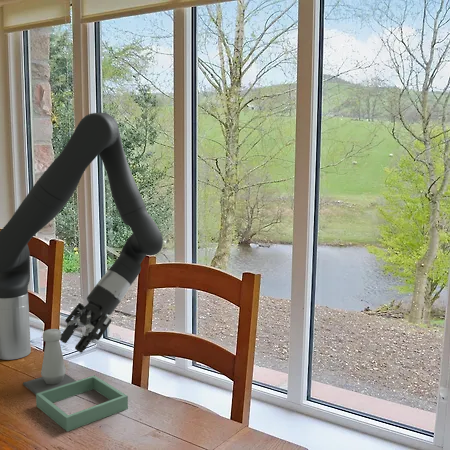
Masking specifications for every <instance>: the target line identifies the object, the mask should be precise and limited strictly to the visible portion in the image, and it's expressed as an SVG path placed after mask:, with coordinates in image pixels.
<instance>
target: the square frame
mask: <svg viewBox="0 0 450 450" xmlns="http://www.w3.org/2000/svg"><path fill="white" fill-rule="evenodd" d="M92 390H94V391H96V392H97V393H99V394H100V395H101V396H103V397H105V398H106V399H108V400H106V401H105V402H101V403H99V404H96V405H93V406H90V407H88V408H85V409H82V410H79V411H77V412H74V413H70V414H68V413H66V412H65V411H64V410H62V409H61V408H60V407H58V406H57V405H56V404H55V403H56V402H60V401H62V400H66V399H68V398H71V397H74V396H77V395H80V394H83V393H86V392H90V391H92ZM35 399H36V401H35V402H36V403H35V404H36V407H37V408H38V409H39V410H41V411H42V412H43V413H44V414H45V415H46V416H48V418H50V419H51V420H52V421H54V423H56V424H57V425H59V427H61V428H62V429H63V430H64V431H66V432H69V431H73V430H76V429H77V428H80V427H84V426H87V425H88V424H92V423H94V422H96V421H99V420H102V419H104V418H107V417H109V416H112V415H115V414H118V413H121V412H123V411H126V410H128V409H129V397H128V395H127V394H126V393H124V392H122V391H121V390H119V389H117V388H116V387H114V386H112V385H111V384H109V383H108V382H106V381H104V380H103V379H101V378H100V377H98V376H96V375H91V376H89V377H85V378H82V379H79V380H76V381H75V382H72V383H69V384H65V385H62V386H59V387H56V388H53V389H50V390H46V391H43V392H40V393H37V394H36V395H35Z"/></svg>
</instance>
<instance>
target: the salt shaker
mask: <svg viewBox="0 0 450 450" xmlns="http://www.w3.org/2000/svg"><path fill="white" fill-rule="evenodd" d="M61 334H62V331H61V330H60V329H58V328H49V329H46V330H44V331H43V333H42V340H43V341H44V342H45V346H44V352H43V358H42V359H43V360H42V365H41V371H40V375H41V376H40V377H43V379H44V380H45V382H46V384H50V385H54V384H58V383H61V382H62V380H63V378H64V375H65V374H67V373H66V372H67V369H66V364H65V360H64V355H63V351H62V348H61V347H62V346H61V343H60V341H61V340H60V339H61Z"/></svg>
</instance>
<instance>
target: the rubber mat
mask: <svg viewBox="0 0 450 450" xmlns="http://www.w3.org/2000/svg"><path fill="white" fill-rule="evenodd" d="M75 381H77V380H75V379H74V378H72V377H71V376H70V375H68V374H67V373H65V375H64V378H63V380H62V382H61V383H58V384H54V385H50V384H46V382H45V380H44V379H43V377H42V376H40V377H37V378H34V379H31V380H30V379H29V380H27V381H24V382H23V383H22V384H23V386H24V387H25V388H27V389H28V390H29V391H30V392H32V393H33V394H34V395H35V396H36V394H37V393H40V392H43V391H46V390H50V389H53V388H56V387H59V386H62V385H65V384H69V383H72V382H75Z"/></svg>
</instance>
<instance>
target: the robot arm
mask: <svg viewBox="0 0 450 450" xmlns="http://www.w3.org/2000/svg"><path fill="white" fill-rule="evenodd" d="M98 156H99V157H100V159H101V161H102V164H103V166H104V169H105V171H106V175H107V178H108V183H109V189H110V192H111V196H112V199H113V202H114V204H115V207H116V209H117V212H118V214H119V216H120V217H121V218H120V219H121V220H122V222H123V223H124V224H125V225H127V226H128V227H129V228H130V230H131V232H132V234H131V235H130V236H129V237H128V238H127V240H126V242H125V243H124V245H123V246H122V249H121V251H120V254H119V256H118V257H117V258H116V260H115V261H114V263H112V265H111V266H110V268H109V269H108V270H107V272H105V274H103V275H102V277H101V278H100V279H99V281H98V282H97V284H96V285H95V286H94V288H93V289H91V292H90V293H89V294H88V295H87V296H86V300H87V304H86V305H83V304H82V303H81V302H79V303H78V304H77V305H76V306H75V307H74V309H73V310H72V311H71V312H70V313H69V315H68V316H67V318H66V319H65V321H64V322H65V323H66V327H65V329H64V330H63V332H61V339H60V340H59V341H61V342H62V343H64V344H66V343H68V341H69V340H70V338H71V337H72V335H74V333H75V331H76V330H78V329H80V328H84V327H85V331H84V335H82V337H81V338H80V339H79V341H78V342H77V343H76V345H75V347H74V349H75V350H76V351H77V352H79V353H81V354H82V353H83V352H84V351H85V350H86V349H87V347H88V346H89V344H90V343H91V341H94V340H96V341H99V340H100V339H101V338H102V336H103V335H104V333H105V332H106V331H107V329H108V327H109V326H110V324H111V323H112V318H110V317H109V316H111V315H112V314H113V312H115V309H117V307H118V306H119V304H120V303H121V302H122V300H123V299H124V297H126V295H127V293H128V291H129V290H130V287H131V286H132V285H133V283H134V282H135V280H137V278H138V276H139V274H141V273H140V272H141V270H142V267H141V263H143V260H144V259H145V258H146V257H147V256H155V255H157V254H159V253H160V252H161V250H162V249H163V246H164V241H163V235H162V232H161V231H160V229H159V227H158V225H157V223H156V222H155V221H154V219H153V218H152V215H150V214H149V212H148V210H147V208H146V205H145V201H144V199H143V197H142V195H141V193H140V190H139V188H138V185H137V183H136V181H135V177H134V176H133V174H132V171H131V169H130V165H129V163H128V160H127V157H126V152H125V150H124V146H123V141H122V138H121V133H120V128H119V125H118V122H117V121H116V119H115V118H114V117H113V116H112V115H110V114H108V113H106V112H92V113H88V114H87V115H85V116H83V117H82V119H81V120H80V121H79V122H78V123H77V126H76V127H75V130H74V131H73V133H72V135H71V137H70V138H69V140H68V141H67V143H66V145H65V146H64V148H63V150H62V151H60V153H59V155H58V156H57V157H56V158H55V159H54V160H53V161H52V162H51V164H50V165H49V166H48V167H47V168H46V169H45V171H44V172H43V173H42V174H41V175H40V177H39V178H38V179H37V181H35V183H34V185H33V186H32V188H31V189H30V191H29V192H28V194H27V195H26V196H25V198H24V199H23V200H22V201H21V203H20V204H19V206H18V208H17V209H16V211H15V212H14V214H13V215H12V217H11V218H10V219H9V220H8V222H7V223H6V224H5V225H4V227H2V228H1V229H0V360H2V361H3V360H7V361H9V360H17V359H22V358H25V357H27V356H28V355H29V354H31V352H32V349H31V328H30V327H31V325H30V323H31V322H30V307H29V304H30V303H29V291H28V289H29V283H30V280H31V254H30V249H29V245H28V243H29V242H30V241H31V239H33V237H34V236H35V235H37V233H39V232H40V231H41V230H42V229H43V228H45V227H46V226H47V225H48V224H49V223H51V221H52V220H53V219H55V217H57V215H58V214H59V213H60V212H61V211H62V210H63V208H64V207H65V206H66V205H67V203H68V202H69V201H70V199H71V198H72V196H73V195H74V193H75V191H76V190H77V187H78V185H79V183H80V181H81V179H82V176H83V174H84V173H85V171H86V170H87V168H88V167H89V166H90V165H91V164H92V162H93V161H94V160H95V159H96V158H97V157H98Z"/></svg>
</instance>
